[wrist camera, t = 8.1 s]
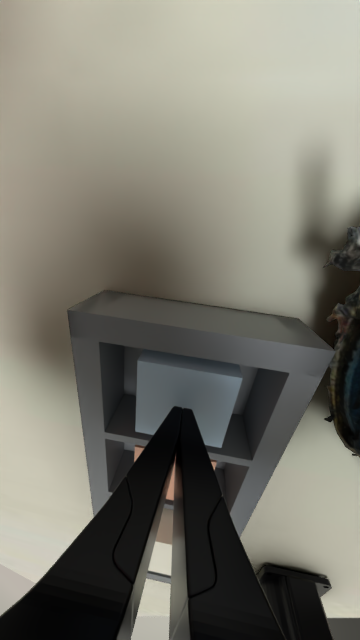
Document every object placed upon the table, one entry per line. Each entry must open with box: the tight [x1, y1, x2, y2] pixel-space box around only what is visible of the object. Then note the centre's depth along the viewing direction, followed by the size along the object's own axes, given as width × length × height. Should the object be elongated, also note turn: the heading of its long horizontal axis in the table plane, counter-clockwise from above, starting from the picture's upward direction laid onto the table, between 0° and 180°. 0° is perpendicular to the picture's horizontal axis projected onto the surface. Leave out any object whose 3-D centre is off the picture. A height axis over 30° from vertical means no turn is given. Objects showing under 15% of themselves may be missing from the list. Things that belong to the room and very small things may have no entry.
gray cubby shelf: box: [67, 290, 336, 584], centre depth 14 cm, size 25×10×3 cm, turn 173°
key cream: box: [148, 508, 173, 576], centre depth 13 cm, size 4×4×2 cm
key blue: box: [135, 349, 243, 448], centre depth 10 cm, size 4×4×2 cm
